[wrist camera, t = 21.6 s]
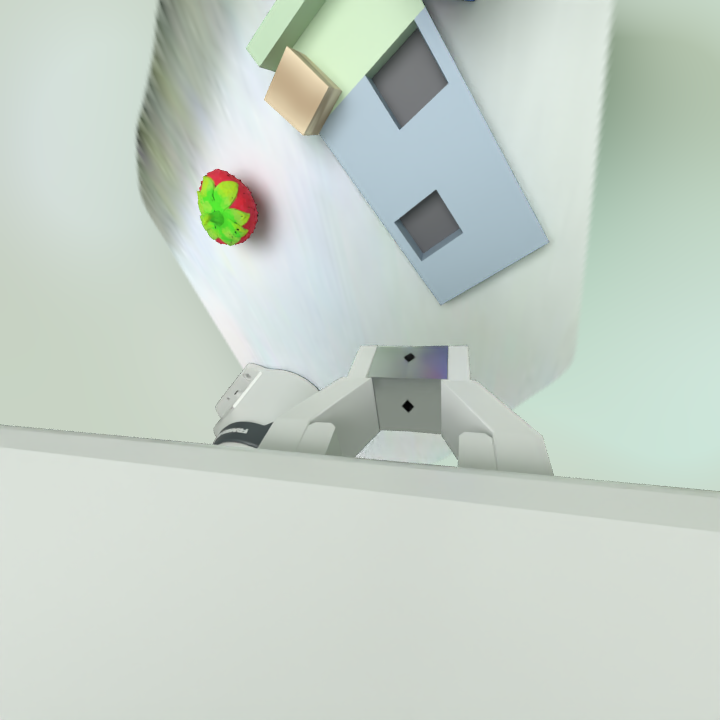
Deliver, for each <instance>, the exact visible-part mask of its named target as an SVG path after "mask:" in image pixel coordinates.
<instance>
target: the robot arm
mask: <svg viewBox="0 0 720 720" xmlns="http://www.w3.org/2000/svg"><path fill="white" fill-rule="evenodd" d="M215 409H216V411H217V413H218V414H219V416H220V418H221V419H220V420H219V421H218V423H217V424H216V425H215V427H214V434H215V436H216V438H215V440H214V442H213V444H203V443H192V442H181V441H171V440H160V439H149V438H138V437H128V436H117V435H106V434H95V433H83V432H74V431H63V430H53V429H42V428H31V427H20V426H9V425H0V720H720V491H711V490H700V489H690V488H679V487H668V486H656V485H646V484H634V483H622V482H613V481H602V480H591V479H581V478H570V477H559V476H554V474H553V471H552V467H551V464H550V460H549V457H548V453H547V450H546V446H545V443H544V439H543V436H542V435H541V434H540V433H538V432H537V431H536V430H535V429H534V428H532V427H531V426H530V425H529V424H528V423H526V422H525V421H524V420H523V419H521V417H519V416H518V415H517V414H516V413H515V412H513V411H512V410H511V409H510V408H509V407H507V406H506V405H505V404H504V403H503V402H501V401H500V400H499V399H498V398H497V397H496V396H494V395H493V394H492V393H491V392H490V391H488V390H487V389H486V388H485V387H484V386H482V385H481V384H480V383H479V382H478V381H476V380H471V377H470V363H469V349H468V346H467V345H455V346H449V348H448V346H414V347H413V346H383V345H379V346H378V345H362V346H360V347H359V350H358V352H357V354H356V357H355V359H354V361H353V364H352V366H351V368H350V371H349V373H348V375H347V377H341V378H339V379H338V380H336V381H335V382H333V383H331V384H330V385H328V386H327V387H325V388H323V389H322V390H320V391H318V389H317V388H316V387H315V386H314V385H313V384H311V383H310V382H309V381H307V380H306V379H304V378H303V377H301V376H299V375H297V374H294V373H292V372H289V371H285V370H277V369H267V368H264V367H262V366H259V365H256V364H252V363H250V364H248V365H247V366H246V367H245V368H244V370H243V371H242V373H240V375H239V376H238V377H237V379H236V380H235V381H234V382H233V384H232V385H231V386H230V387H229V389H228V390H227V391H226V393H225V394H224V395H223V396H222V398H221V399H220V400H219V402H218V403H217V405H216V406H215ZM380 430H391V431H412V432H423V433H433V434H441V435H442V437H443V439H444V440H445V442H446V443H447V445H448V446H449V448H450V449H451V451H452V452H453V454H454V455H455V457H456V458H457V460H458V467H452V466H441V465H430V464H419V463H408V462H397V461H386V460H375V459H365V458H354V457H355V456H356V455H357V454H358V453H359V452H360V451H361V450H362V449H363V448H364V447H365V446H366V445H367V444H368V443H369V442H370V441H371V440H372V439H373V438H374V437H375V436H376V435H377V434H378V433H379V432H380Z"/></svg>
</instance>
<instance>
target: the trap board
mask: <svg viewBox="0 0 720 720" xmlns="http://www.w3.org/2000/svg"><path fill="white" fill-rule="evenodd" d="M286 46H288V47H290V48H292V49H294V50H296V51H299V52H301V53H303V54H305V55H306V56H307V57H308V58H309V59H310V60H311V61H312V62H313V63H314V64H315V65H316V66H317V67H318V68H319V69H320V70H321V71H323V72H324V73H325V74H326V75H327V76H328V77H329V78H330V79H331V80H332V81H333V82H334V83H335V84H336V85H337V86H338V87H339V88H340V89H341V90H342V93H341V94H340V96H339V98H338V100H337V102H336V103H335V105H334V107H333V109H332V111H331V113H330V114H329V116H328V118H327V120H326V122H325V124H324V125H323V127H322V129H321V131H320V133H319V134H320V136H321V137H322V138H323V140H324V141H325V143H326V144H327V145H328V147H329V148H330V150H331V151H332V153H333V154H334V155H335V157H336V158H337V160H338V161H339V162H340V164H341V165H342V167H343V168H344V169H345V171H346V172H347V174H348V175H349V176H350V178H351V179H352V181H353V182H354V183H355V185H356V186H357V188H358V189H359V191H360V192H361V193H362V195H363V196H364V198H365V199H366V200H367V202H368V203H369V205H370V206H371V207H372V209H373V210H374V212H375V213H376V214H377V216H378V217H379V219H380V220H381V222H382V223H383V224H384V226H385V227H386V229H387V230H388V231H389V233H390V234H391V236H392V237H393V238H394V240H395V241H396V243H397V244H398V245H399V247H400V248H401V250H402V251H403V252H404V254H405V255H406V257H407V258H408V260H409V261H410V262H411V264H412V265H413V267H414V268H415V269H416V271H417V272H418V274H419V275H420V276H421V278H422V279H423V281H424V282H425V283H426V285H427V286H428V288H429V289H430V290H431V292H432V293H433V295H434V296H435V298H436V299H437V300H438V302H439V303H440V305H442V304H444V303H446V302H447V301H449V300H451V299H452V298H454V297H456V296H458V295H459V294H461V293H463V292H464V291H466V290H468V289H470V288H471V287H473V286H475V285H477V284H478V283H480V282H482V281H483V280H485V279H487V278H489V277H490V276H492V275H494V274H495V273H497V272H499V271H501V270H502V269H504V268H506V267H508V266H509V265H511V264H513V263H514V262H516V261H518V260H520V259H521V258H523V257H525V256H527V255H528V254H530V253H532V252H533V251H535V250H537V249H539V248H540V247H542V246H544V245H545V244H547V243H549V240H548V239H547V237H546V235H545V233H544V231H543V229H542V227H541V225H540V223H539V222H538V220H537V218H536V216H535V214H534V212H533V210H532V208H531V206H530V204H529V203H528V201H527V199H526V197H525V195H524V193H523V191H522V189H521V187H520V186H519V184H518V182H517V180H516V178H515V176H514V174H513V172H512V170H511V168H510V167H509V165H508V163H507V161H506V159H505V157H504V155H503V153H502V151H501V150H500V148H499V146H498V144H497V142H496V140H495V138H494V136H493V134H492V133H491V131H490V129H489V127H488V125H487V123H486V121H485V119H484V117H483V115H482V114H481V112H480V110H479V108H478V106H477V104H476V102H475V100H474V98H473V97H472V95H471V93H470V91H469V89H468V87H467V85H466V83H465V81H464V79H463V78H462V76H461V74H460V72H459V70H458V68H457V66H456V64H455V62H454V61H453V59H452V57H451V55H450V53H449V51H448V49H447V47H446V45H445V43H444V42H443V40H442V38H441V36H440V34H439V32H438V30H437V28H436V26H435V25H434V23H433V21H432V19H431V17H430V15H429V13H428V11H427V9H426V8H425V6H424V4H423V2H422V0H276V2H275V3H274V5H273V6H272V8H271V9H270V11H269V13H268V14H267V16H266V17H265V19H264V20H263V22H262V24H261V25H260V27H259V28H258V30H257V31H256V33H255V35H254V36H253V38H252V39H251V41H250V42H249V44H248V46H247V47H246V49H247V51H248V52H249V53H250V55H251V56H252V57H253V59H254V60H255V62H256V63H257V64H258V66H259V67H261V68H264V69H268V70H271V71H274V72H276V70H277V68H278V65H279V63H280V61H281V58H282V56H283V53H284V51H285V49H286Z"/></svg>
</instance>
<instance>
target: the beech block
mask: <svg viewBox="0 0 720 720" xmlns="http://www.w3.org/2000/svg"><path fill="white" fill-rule="evenodd" d="M341 93H342V90H341V89H340V88H339V87H338V86H337V85H336V84H335V83H334V82H333V81H332V80H331V79H330V78H329V77H328V76H327V75H326V74H325V73H324V72H323V71H321V70H320V69H319V68H318V67H317V66H316V65H315V64H314V63H313V62H312V61H311V60H310V59H309V58H308V57H307V56H306V55H305V54H303V53H301V52H299V51H296V50H294V49H292V48H290V47H288V46H286V49H285V51H284V53H283V56H282V58H281V61H280V63H279V65H278V68H277V70H276V72H275V75H274V77H273V79H272V82H271V84H270V87H269V89H268V91H267V94H266V96H265V98H264V100H265V101H266V102H267V103H268V104H269V105H270V106H271V107H273V108H274V109H275V110H276V111H277V112H278V113H279V114H280V115H281V116H282V117H283V118H285V119H286V120H287V121H288V122H289V123H290V124H291V125H292V126H293V127H294V128H295V129H297V130H298V131H299V132H300V133H301V134H302V135H303V136H304V135H318V134H319V133H320V131H321V129H322V127H323V125H324V124H325V122H326V120H327V118H328V116H329V114H330V113H331V111H332V109H333V107H334V105H335V103H336V102H337V100H338V98H339V96H340V94H341Z"/></svg>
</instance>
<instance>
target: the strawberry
mask: <svg viewBox="0 0 720 720" xmlns="http://www.w3.org/2000/svg"><path fill="white" fill-rule="evenodd" d="M199 189H200V191H197V193H198V205H199V209H200V212H201V214H202V215H201V216H200V218H201V221H202V225H203V227H204V229H205V230H206V231H207V232H208V235H209V236H210V237H211V238H212V239H213V240H216V242H218V243H220V244H226V245H227V244H228V245H229V246H231V245H234V244H235V245H236V244H239V243H243V242H244V241H246V239H248V238H249V237H250V235H251V234H252V233H253V231H254V229H255V228H256V227H255V226H256V223H257V221H258V220H257V216H258V212H257V209H256V205H257V204H255V202H254V200H253V197H252V196H251V192H250V191H249V189H248V188H247V187H246V186H245V185H244V184H243V183H242V182H241V180H239V179H237V178H235V176H233V175H231V174H229V173H228V172H227V171H224V170H220V169H215V170H214V171H212V172H209V173H207V175H205V176H203V181H201V187H200V188H199Z"/></svg>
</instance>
